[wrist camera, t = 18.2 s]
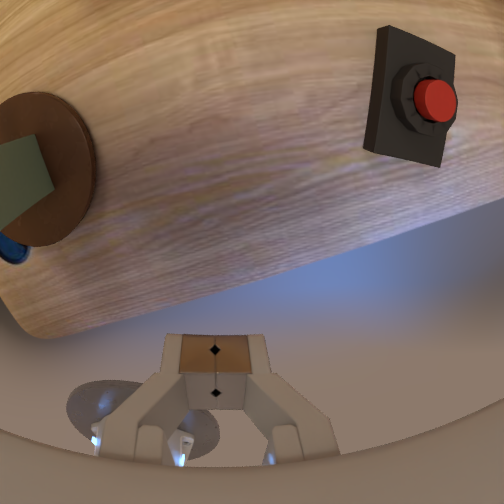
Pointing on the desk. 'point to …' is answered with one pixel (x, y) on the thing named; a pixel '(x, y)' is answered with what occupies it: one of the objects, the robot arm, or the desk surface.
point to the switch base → (406, 97)
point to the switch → (435, 100)
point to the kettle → (43, 169)
